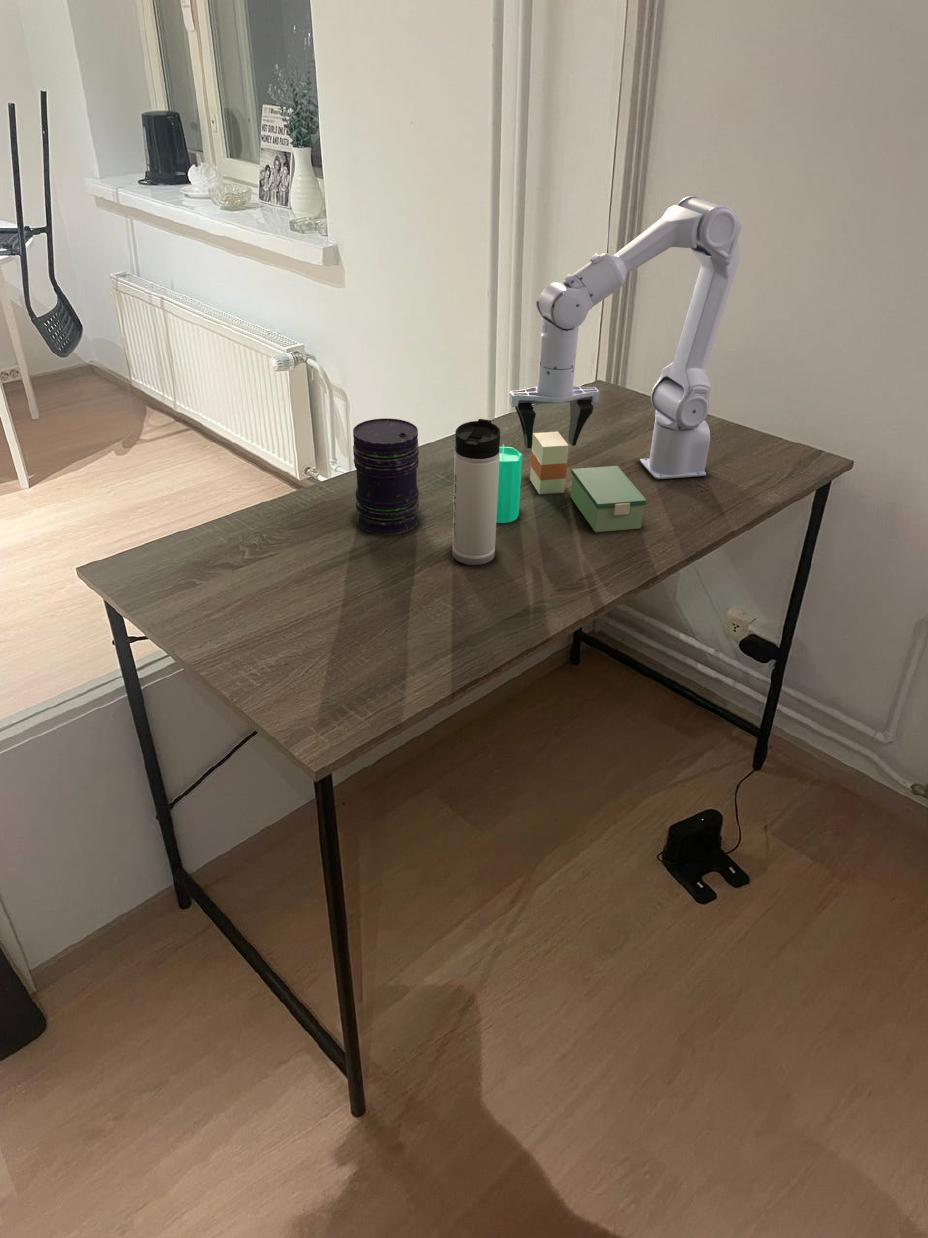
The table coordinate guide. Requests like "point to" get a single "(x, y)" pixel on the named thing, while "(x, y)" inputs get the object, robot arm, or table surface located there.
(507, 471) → the candle
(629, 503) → the lunchbox
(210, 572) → the table surface
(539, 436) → the juice carton
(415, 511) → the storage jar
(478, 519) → the travel mug
